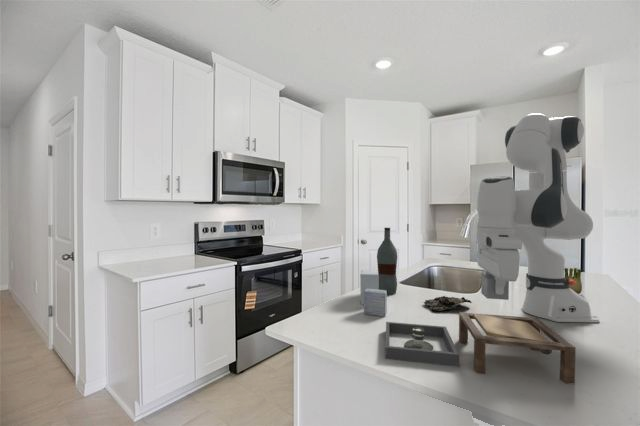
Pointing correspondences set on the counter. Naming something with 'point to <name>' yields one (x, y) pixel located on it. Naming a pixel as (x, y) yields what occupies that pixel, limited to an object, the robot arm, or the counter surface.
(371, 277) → the supplement box
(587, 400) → the counter surface
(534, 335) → the trapdoor
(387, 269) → the bottle
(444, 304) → the decorative rock
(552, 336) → the trapdoor frame
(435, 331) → the cup mat rim
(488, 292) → the stone block
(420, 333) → the grey knobbed disc
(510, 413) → the counter surface
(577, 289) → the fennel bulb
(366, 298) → the medicine box
